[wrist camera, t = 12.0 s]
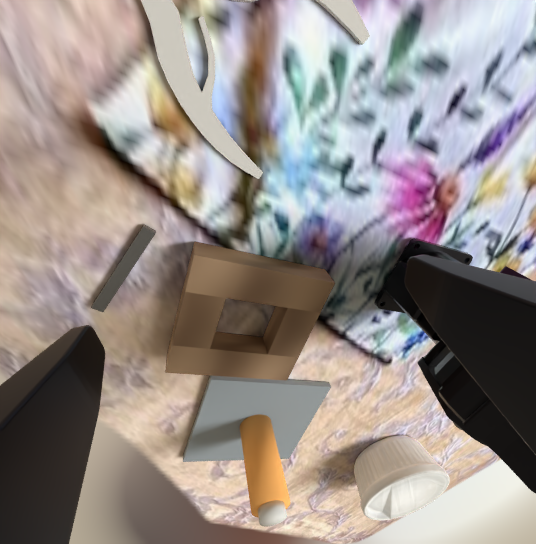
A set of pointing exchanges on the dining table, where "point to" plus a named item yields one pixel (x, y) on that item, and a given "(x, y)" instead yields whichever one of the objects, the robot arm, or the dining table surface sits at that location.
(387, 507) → the ramekin
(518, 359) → the robot arm
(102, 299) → the strip
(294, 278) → the brown square frame
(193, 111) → the pliers
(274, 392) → the rubber mat
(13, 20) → the dining table surface
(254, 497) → the orange cylinder
